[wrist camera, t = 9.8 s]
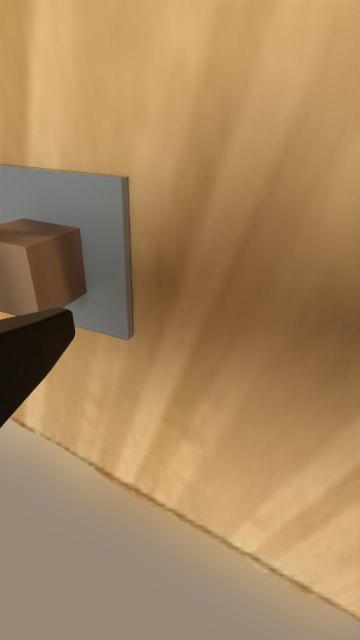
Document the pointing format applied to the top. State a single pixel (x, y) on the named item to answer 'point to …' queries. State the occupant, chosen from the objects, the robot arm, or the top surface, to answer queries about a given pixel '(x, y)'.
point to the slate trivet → (82, 235)
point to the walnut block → (39, 266)
